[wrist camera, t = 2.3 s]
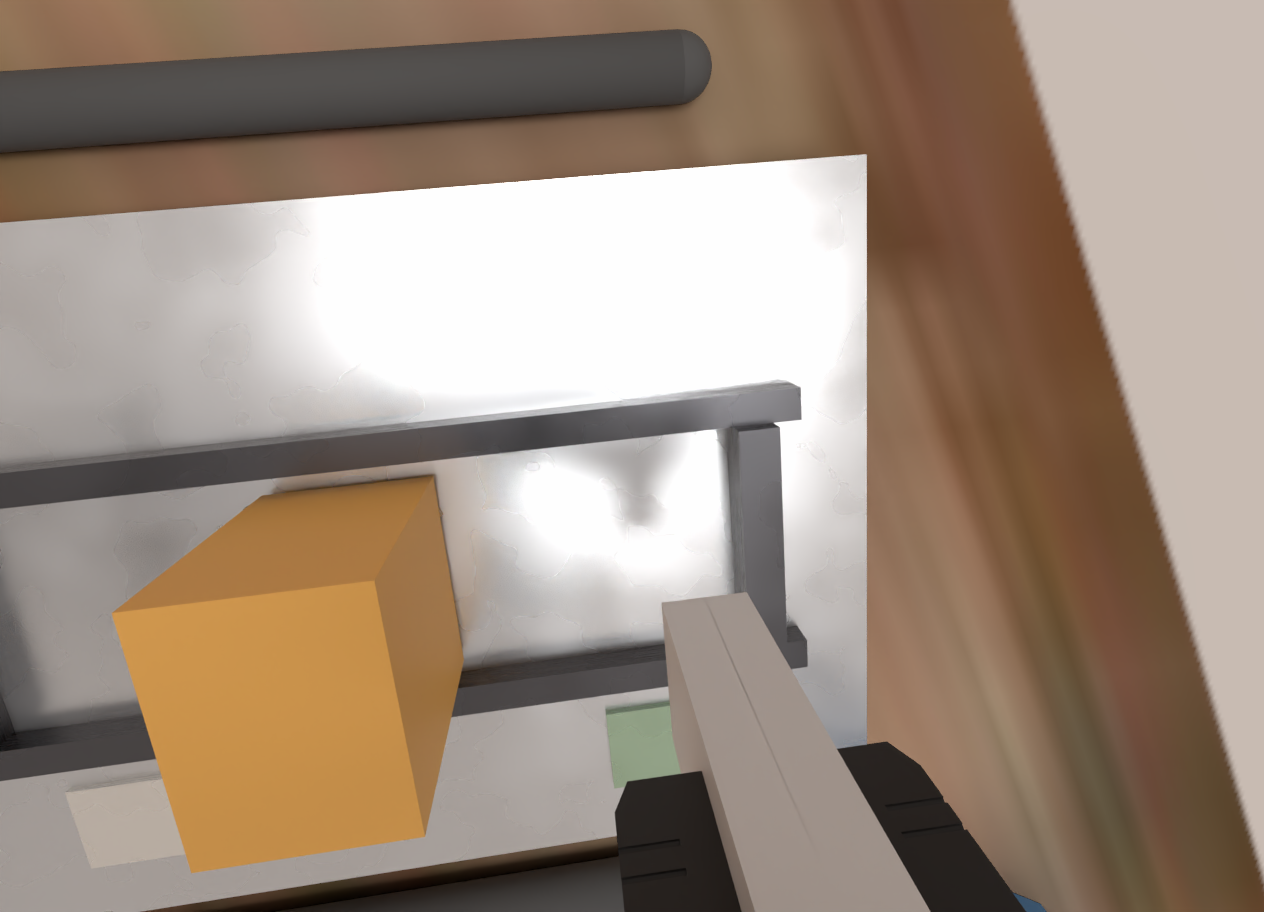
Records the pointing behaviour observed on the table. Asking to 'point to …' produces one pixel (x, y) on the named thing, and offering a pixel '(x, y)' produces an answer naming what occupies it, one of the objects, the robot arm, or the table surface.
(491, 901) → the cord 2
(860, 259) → the panel
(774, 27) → the table surface
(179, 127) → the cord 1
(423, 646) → the matte orange cube
